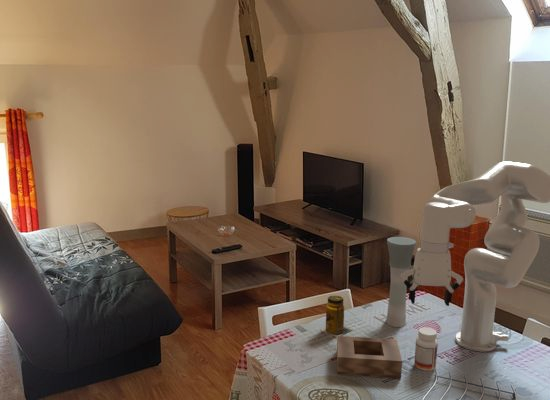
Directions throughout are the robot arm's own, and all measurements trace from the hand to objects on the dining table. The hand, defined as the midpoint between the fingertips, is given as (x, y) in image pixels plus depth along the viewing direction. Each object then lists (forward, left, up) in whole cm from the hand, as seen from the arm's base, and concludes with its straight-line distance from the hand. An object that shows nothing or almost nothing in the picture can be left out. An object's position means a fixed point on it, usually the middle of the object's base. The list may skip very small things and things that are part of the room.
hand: (429, 303), depth 149 cm
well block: (+17, +1, -20) cm, 26 cm away
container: (+5, -29, -20) cm, 36 cm away
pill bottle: (0, 0, -20) cm, 20 cm away
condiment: (+26, -20, -20) cm, 39 cm away
